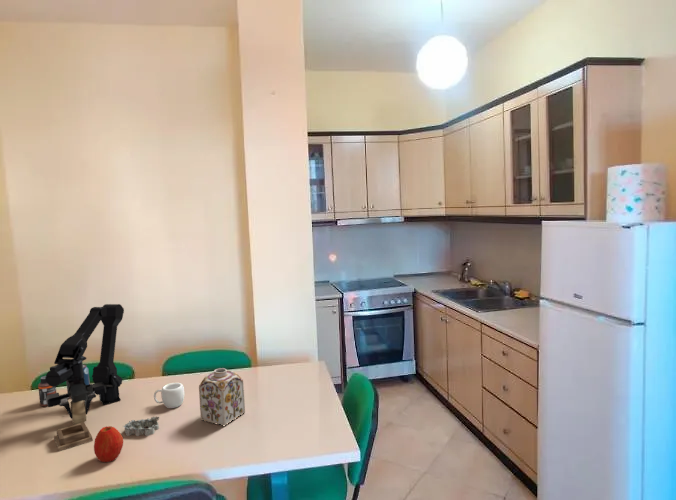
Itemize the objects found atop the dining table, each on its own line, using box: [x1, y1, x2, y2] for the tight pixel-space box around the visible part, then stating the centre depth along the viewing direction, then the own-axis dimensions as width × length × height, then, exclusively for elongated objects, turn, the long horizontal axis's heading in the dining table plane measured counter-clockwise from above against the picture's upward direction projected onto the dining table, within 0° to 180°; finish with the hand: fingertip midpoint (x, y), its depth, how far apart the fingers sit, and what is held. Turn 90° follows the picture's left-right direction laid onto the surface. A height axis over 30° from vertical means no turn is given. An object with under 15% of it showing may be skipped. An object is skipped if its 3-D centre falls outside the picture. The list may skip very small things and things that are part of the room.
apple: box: [93, 425, 124, 463], centre depth 145 cm, size 8×8×11 cm
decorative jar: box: [198, 367, 246, 426], centre depth 170 cm, size 12×12×18 cm
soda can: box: [83, 363, 91, 385], centre depth 195 cm, size 7×7×12 cm
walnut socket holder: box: [53, 422, 94, 452], centre depth 157 cm, size 10×10×3 cm
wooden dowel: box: [69, 400, 87, 425], centre depth 171 cm, size 4×4×8 cm
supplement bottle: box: [37, 375, 57, 407], centre depth 187 cm, size 6×6×11 cm
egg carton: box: [122, 416, 160, 437], centre depth 162 cm, size 11×8×4 cm
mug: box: [153, 382, 185, 409], centre depth 182 cm, size 12×8×8 cm
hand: (79, 416), depth 171 cm, fingers closed on wooden dowel, 4 cm apart
